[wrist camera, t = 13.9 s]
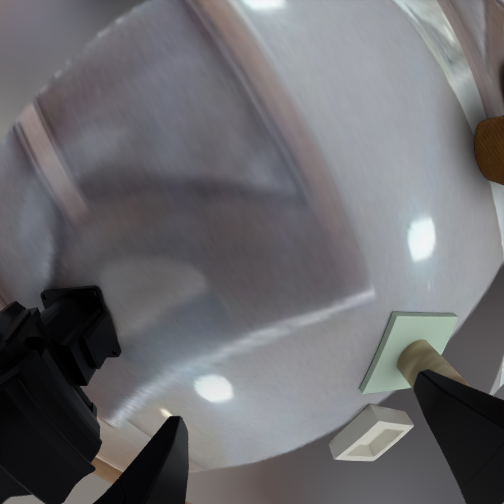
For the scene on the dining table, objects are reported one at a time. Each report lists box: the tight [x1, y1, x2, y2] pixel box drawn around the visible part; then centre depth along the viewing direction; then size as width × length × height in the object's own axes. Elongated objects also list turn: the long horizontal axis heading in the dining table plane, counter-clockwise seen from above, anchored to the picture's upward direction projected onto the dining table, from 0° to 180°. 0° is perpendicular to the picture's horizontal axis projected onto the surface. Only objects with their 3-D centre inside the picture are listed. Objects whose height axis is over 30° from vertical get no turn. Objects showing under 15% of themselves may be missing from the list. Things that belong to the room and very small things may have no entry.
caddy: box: [328, 404, 414, 461], centre depth 25 cm, size 7×7×3 cm
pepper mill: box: [397, 340, 470, 390], centre depth 15 cm, size 4×4×15 cm
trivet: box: [360, 312, 458, 394], centre depth 23 cm, size 9×9×1 cm
